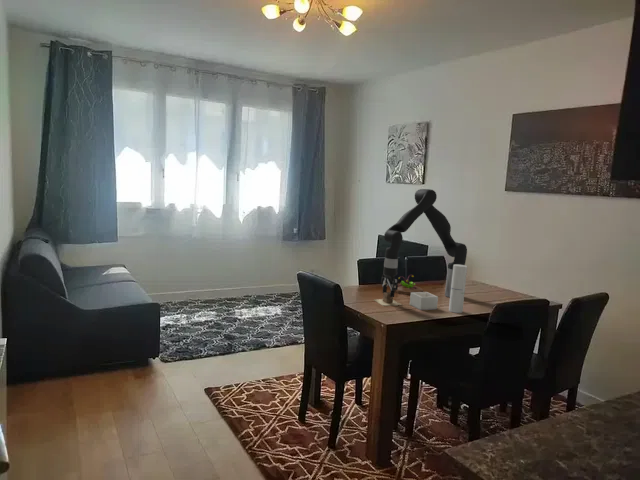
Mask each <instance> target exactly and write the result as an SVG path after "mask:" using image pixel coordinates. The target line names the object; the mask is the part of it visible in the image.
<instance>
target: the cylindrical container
mask: <svg viewBox="0 0 640 480" xmlns="http://www.w3.org/2000/svg"><path fill="white" fill-rule="evenodd" d="M467 272H468V265H466V264H465V265H459V264H454V265H453V274H452V284H451V293H450V297H449V302H448V303H449V304H448V312H451V313H453V314H462V313H463V310H464V301H465V293H466V282H467Z"/></svg>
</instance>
